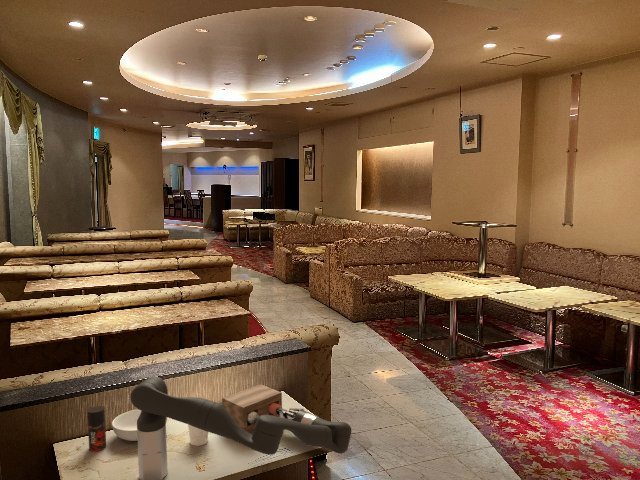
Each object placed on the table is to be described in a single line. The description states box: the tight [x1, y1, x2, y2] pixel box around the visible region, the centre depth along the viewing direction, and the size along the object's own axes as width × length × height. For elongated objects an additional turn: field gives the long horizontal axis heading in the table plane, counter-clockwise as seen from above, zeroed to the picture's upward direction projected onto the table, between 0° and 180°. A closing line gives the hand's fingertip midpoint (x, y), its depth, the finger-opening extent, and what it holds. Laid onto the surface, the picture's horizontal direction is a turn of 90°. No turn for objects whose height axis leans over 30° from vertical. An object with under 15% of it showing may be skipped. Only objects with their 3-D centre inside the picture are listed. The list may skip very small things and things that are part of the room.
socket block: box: [221, 383, 283, 435], centre depth 202 cm, size 14×20×13 cm
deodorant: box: [86, 405, 107, 453], centre depth 185 cm, size 6×6×15 cm
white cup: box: [187, 424, 209, 447], centre depth 189 cm, size 8×8×10 cm
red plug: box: [269, 402, 283, 416], centre depth 203 cm, size 10×4×4 cm, turn 47°
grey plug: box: [247, 411, 259, 424], centre depth 196 cm, size 10×4×4 cm, turn 47°
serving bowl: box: [111, 408, 168, 442], centre depth 195 cm, size 21×21×7 cm
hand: (277, 410), depth 199 cm, fingers closed
